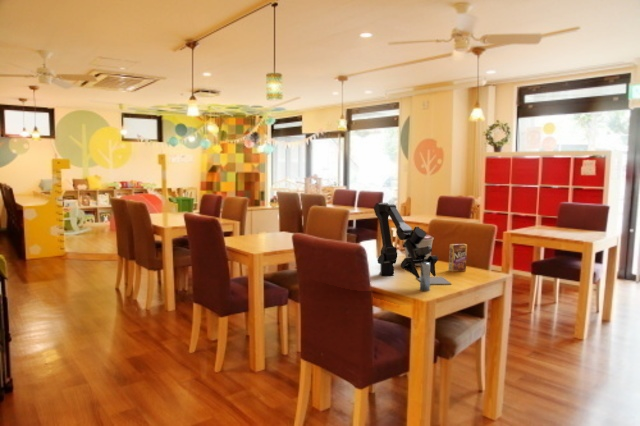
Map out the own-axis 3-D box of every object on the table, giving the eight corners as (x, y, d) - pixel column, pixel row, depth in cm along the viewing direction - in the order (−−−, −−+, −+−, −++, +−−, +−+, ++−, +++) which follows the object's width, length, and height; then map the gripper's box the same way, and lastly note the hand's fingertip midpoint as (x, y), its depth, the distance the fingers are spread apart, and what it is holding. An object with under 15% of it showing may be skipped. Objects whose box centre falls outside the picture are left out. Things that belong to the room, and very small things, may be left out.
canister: (431, 262, 275) (432, 228, 273) (434, 268, 257) (435, 232, 255) (401, 261, 277) (402, 227, 275) (402, 267, 259) (403, 231, 257)
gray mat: (423, 284, 220) (423, 283, 220) (415, 278, 234) (415, 276, 234) (451, 284, 221) (451, 283, 220) (442, 277, 234) (442, 276, 234)
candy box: (452, 272, 248) (452, 245, 246) (448, 270, 252) (449, 243, 251) (466, 271, 250) (467, 244, 248) (462, 269, 254) (463, 243, 253)
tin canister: (421, 291, 208) (422, 263, 207) (418, 288, 213) (419, 262, 212) (430, 291, 209) (431, 263, 207) (428, 288, 213) (428, 261, 212)
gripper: (404, 241, 208) (418, 269, 199) (436, 238, 216) (451, 265, 207) (394, 254, 216) (407, 282, 207) (426, 252, 224) (439, 278, 215)
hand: (427, 276), depth 209 cm, fingers open, 9 cm apart
